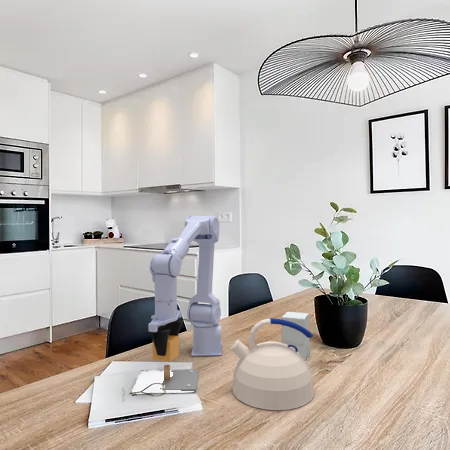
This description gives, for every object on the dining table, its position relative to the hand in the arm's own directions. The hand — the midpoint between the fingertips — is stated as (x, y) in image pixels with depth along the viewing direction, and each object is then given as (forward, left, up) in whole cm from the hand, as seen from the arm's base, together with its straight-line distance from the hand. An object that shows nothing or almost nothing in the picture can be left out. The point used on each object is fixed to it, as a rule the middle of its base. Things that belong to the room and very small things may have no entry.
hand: (166, 351), depth 95 cm
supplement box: (-38, -18, -8) cm, 43 cm away
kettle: (-27, +5, -9) cm, 29 cm away
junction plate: (0, 0, -8) cm, 8 cm away
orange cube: (0, 0, -2) cm, 2 cm away
